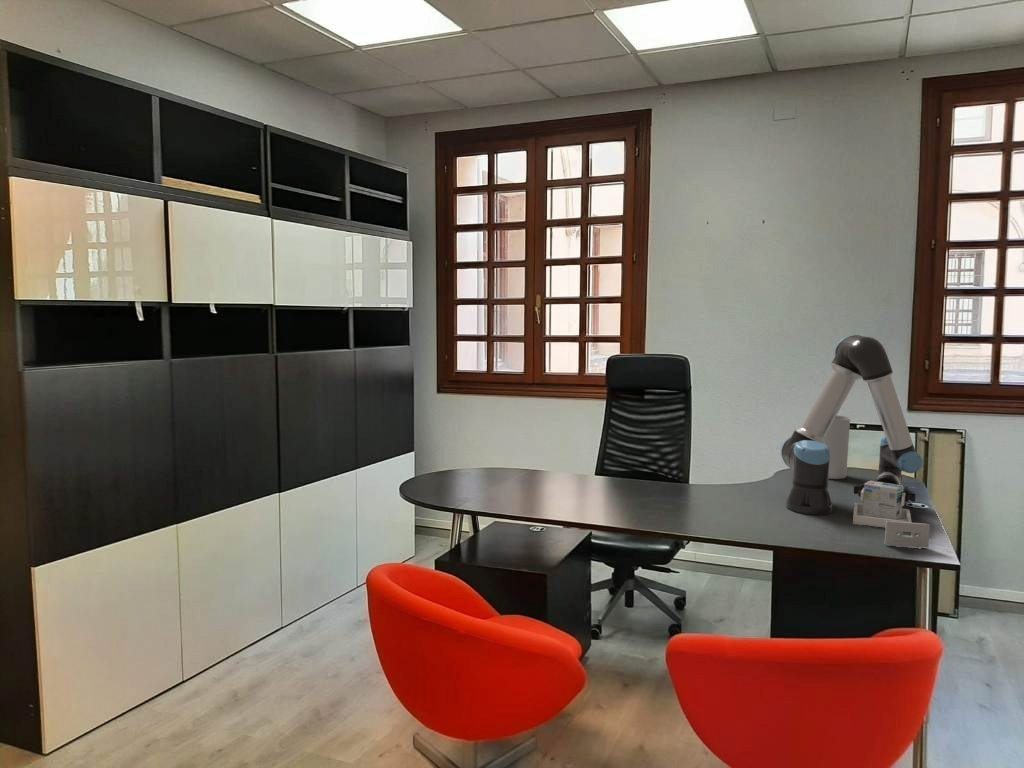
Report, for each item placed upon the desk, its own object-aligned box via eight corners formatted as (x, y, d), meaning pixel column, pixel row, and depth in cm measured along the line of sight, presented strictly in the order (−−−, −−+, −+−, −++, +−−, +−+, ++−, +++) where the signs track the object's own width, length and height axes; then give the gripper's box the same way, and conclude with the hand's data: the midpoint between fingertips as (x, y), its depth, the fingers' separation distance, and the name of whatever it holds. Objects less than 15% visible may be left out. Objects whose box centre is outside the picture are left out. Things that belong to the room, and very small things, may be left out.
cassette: (926, 548, 223) (928, 523, 222) (928, 550, 221) (930, 525, 220) (883, 544, 225) (885, 520, 225) (885, 546, 224) (886, 522, 223)
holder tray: (911, 531, 238) (911, 522, 238) (852, 524, 245) (853, 515, 245) (908, 517, 253) (909, 509, 253) (854, 511, 260) (854, 502, 260)
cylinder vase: (820, 471, 321) (824, 414, 318) (850, 476, 312) (854, 417, 309) (809, 475, 312) (812, 417, 309) (839, 481, 303) (843, 420, 300)
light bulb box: (902, 516, 248) (904, 485, 247) (895, 521, 243) (898, 488, 242) (868, 510, 255) (870, 479, 254) (861, 514, 250) (863, 483, 249)
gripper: (924, 500, 258) (922, 515, 239) (850, 490, 270) (842, 504, 251) (926, 479, 257) (923, 493, 238) (851, 470, 269) (843, 483, 251)
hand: (882, 499), depth 245 cm, fingers closed on light bulb box, 11 cm apart
